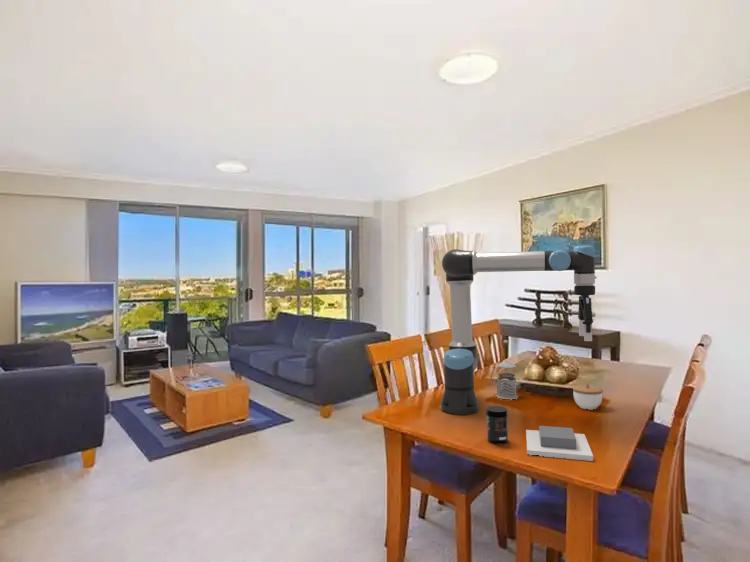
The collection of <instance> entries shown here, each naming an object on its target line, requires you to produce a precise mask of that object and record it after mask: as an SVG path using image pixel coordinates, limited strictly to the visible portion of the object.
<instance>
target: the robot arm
mask: <svg viewBox="0 0 750 562" xmlns="http://www.w3.org/2000/svg"><path fill="white" fill-rule="evenodd" d="M595 265H596V256H595V248H594V246H593V245H577V246H574V247H573V250H572V251H565V250H564V249H562V250H561V249H558V250H557V249H556V250H547V251H546V250H540V251H539V250H536V251H533V250H532V251H502V252H501V251H500V252H476V251H475V250H463V249H458V248H456V249H451V250H448V251H447V252H446V253H445V254H444V255H443V257H442V260H441V267H442V270H443V272H444V273H445V280H446V281H445V282H446V283H447V285H449V293H450V298H449V299H450V317H451V318H450V319H451V338H452V340H451V341H450V343H449V344H448V350H447V351H445V352H444V355H443V367H444V368H443V369H444V370H443V373H444V374H443V375H444V377H443V379H444V391H443V393H442V397H441V398H442V399H441V401H440V410H441V409H442V410H444V411H446V412H445V413H447V412H449V413H448V414H451V413H455V414H454V415H461V414H462V415H471V413H472V414H475V412H476V413H477V412H479V410H480V407H479V405H480V404H479V401H478V398H477V395H476V391H475V385H474V384H475V383H474V382H475V376H474V375H475V374H474V372H475V371H476V369H477V367H478V365H479V357H478V353H477V343H476V342H475V341H474V340H473V323H472V301H471V300H472V299H471V284H472V283H474V275H476V274H477V273H498V272H499V273H500V272H501V273H502V272H503V273H504V272H505V273H506V272H507V273H508V272H544V271H545V272H552V271H553V272H556V271H557V272H562V271H573V284H574V287H573V292H574V295H575V296H578V312H577V313H578V315H577V318H578V336H579V337H583V340H584V342H593V323H594V319H593V309H592V298H591V297H590V296H594V295H595V294H596V286H595V284H596V280H595V279H597V276H596V267H595ZM442 410H441V411H442ZM444 411H443V412H444Z"/></svg>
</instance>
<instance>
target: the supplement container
mask: <svg viewBox="0 0 750 562" xmlns="http://www.w3.org/2000/svg"><path fill="white" fill-rule="evenodd" d="M508 412H509V411H508V408H507V407H505V406H500V405H490V406H487V407H486V414H485V415H486V439H487V441H489V442H490V443H492V442H493V443H492V444H496V443H503V444H506V443H507V442H508V441H509V425H508V424H509V422H508V421H509V419H508V418H509V417H508ZM505 442H506V443H505Z"/></svg>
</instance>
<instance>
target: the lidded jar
mask: <svg viewBox="0 0 750 562" xmlns="http://www.w3.org/2000/svg"><path fill="white" fill-rule="evenodd" d="M572 390H573V393H572V396H573V400H574V402H575V403H576V405H578V406H579V408H580V409H583V410H586V409H588V410H587V411H591V410H592V411H594V410H593V409H595V410H596V409H597V408H598V407H599V406H601V403H602V400H603V391H604V390H603V388H601V387H600V386H596V385H592V384H591V385H590V384H589V383H586V384H577V385H574V386H573V387H572Z"/></svg>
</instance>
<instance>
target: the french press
mask: <svg viewBox="0 0 750 562" xmlns="http://www.w3.org/2000/svg"><path fill="white" fill-rule="evenodd" d="M508 343H509V340H507V339H504V340H503V344H508ZM498 368H499V369H505V371H506V372H500V373H498V374H497V375H498V377H497V382H496V383H495V382H494V381H493V378H492V377H493V376H492V375H493V372H494V371H496V372H499V369H498ZM515 368H517V365H516V364H514V363H512V362H508V361H504V362H503V361H502V362H499V363H498V364H497V365H496V368H494V369H492V371H491V373H490V381H491V382H492V384H494V385H495V386H496V388H497V389H496V390H497V391H496V392H497V394H496V395H495V397H496V396H497V397H498V398H502V399H510V400H509V401H513V400H512V399H516V400H518V399H519V398H518V397H519V396H518V395H517V378H516V374H514V373H509V372H508V371H507V370H508V369H509V370H510V369H511V370H512V369H515ZM498 398H497V399H498ZM517 398H518V399H517ZM502 399H501V400H502Z"/></svg>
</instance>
